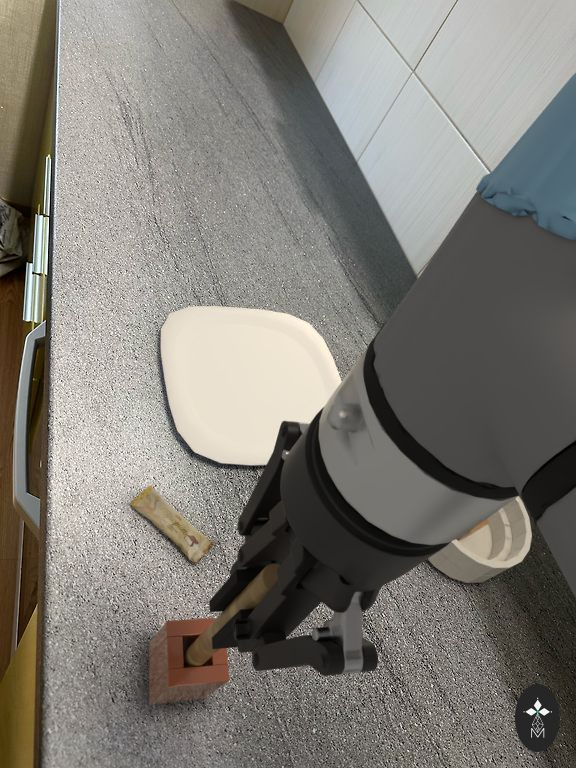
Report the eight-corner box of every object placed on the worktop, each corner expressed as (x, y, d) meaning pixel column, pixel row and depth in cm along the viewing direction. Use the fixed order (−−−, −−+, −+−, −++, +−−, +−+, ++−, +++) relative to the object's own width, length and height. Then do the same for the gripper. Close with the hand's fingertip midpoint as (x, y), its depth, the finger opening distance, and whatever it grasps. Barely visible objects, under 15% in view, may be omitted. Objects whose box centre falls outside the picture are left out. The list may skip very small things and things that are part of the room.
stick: (201, 671, 49) (292, 592, 33) (180, 673, 48) (263, 594, 33) (200, 648, 50) (288, 562, 34) (179, 650, 49) (260, 563, 34)
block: (472, 534, 75) (488, 523, 72) (454, 543, 73) (471, 532, 70) (456, 510, 76) (472, 499, 74) (439, 518, 74) (454, 507, 72)
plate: (150, 308, 78) (152, 299, 77) (313, 319, 89) (318, 312, 88) (176, 475, 65) (179, 468, 63) (364, 464, 76) (370, 458, 74)
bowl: (516, 582, 74) (549, 566, 69) (422, 586, 68) (451, 569, 64) (478, 479, 82) (505, 459, 77) (391, 475, 76) (415, 453, 72)
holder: (204, 698, 52) (229, 681, 47) (149, 704, 50) (168, 687, 45) (200, 640, 55) (224, 617, 49) (148, 644, 53) (166, 620, 47)
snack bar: (128, 503, 60) (149, 482, 61) (130, 506, 61) (150, 485, 62) (196, 565, 58) (216, 543, 59) (196, 567, 60) (215, 545, 61)
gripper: (284, 315, 26) (172, 524, 43) (354, 667, 18) (181, 754, 35) (420, 336, 29) (265, 524, 46) (536, 648, 21) (294, 737, 38)
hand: (229, 623), depth 40 cm, fingers closed on stick, 2 cm apart
